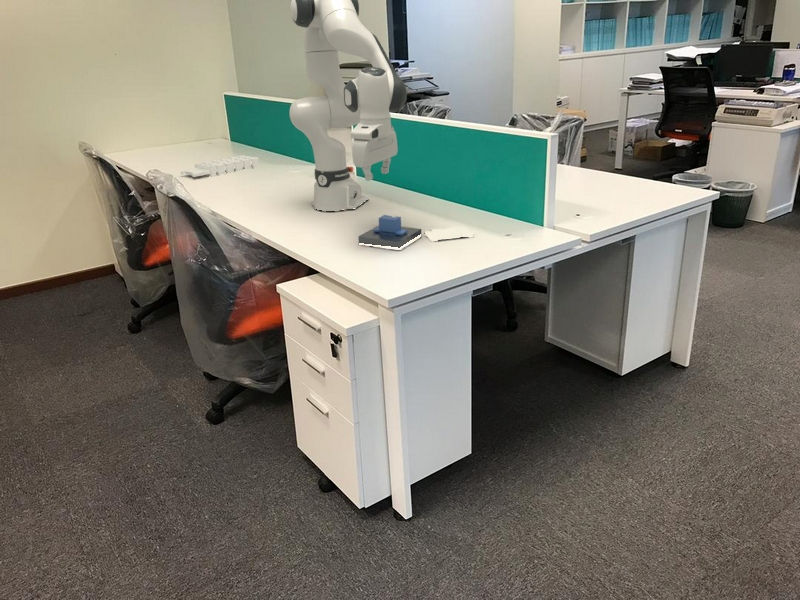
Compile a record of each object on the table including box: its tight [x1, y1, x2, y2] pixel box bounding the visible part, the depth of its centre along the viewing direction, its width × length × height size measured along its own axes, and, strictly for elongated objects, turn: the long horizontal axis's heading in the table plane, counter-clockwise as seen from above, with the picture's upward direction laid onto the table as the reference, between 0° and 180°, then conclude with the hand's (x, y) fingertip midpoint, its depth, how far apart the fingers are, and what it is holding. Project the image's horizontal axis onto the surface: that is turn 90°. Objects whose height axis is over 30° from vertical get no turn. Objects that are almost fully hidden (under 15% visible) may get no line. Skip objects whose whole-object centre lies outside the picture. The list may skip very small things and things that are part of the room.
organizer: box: [180, 154, 260, 178], centre depth 294 cm, size 13×5×35 cm
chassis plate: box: [357, 225, 422, 248], centre depth 189 cm, size 14×14×3 cm
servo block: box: [372, 214, 408, 236], centre depth 188 cm, size 4×10×8 cm, turn 61°
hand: (377, 176), depth 184 cm, fingers open, 8 cm apart
